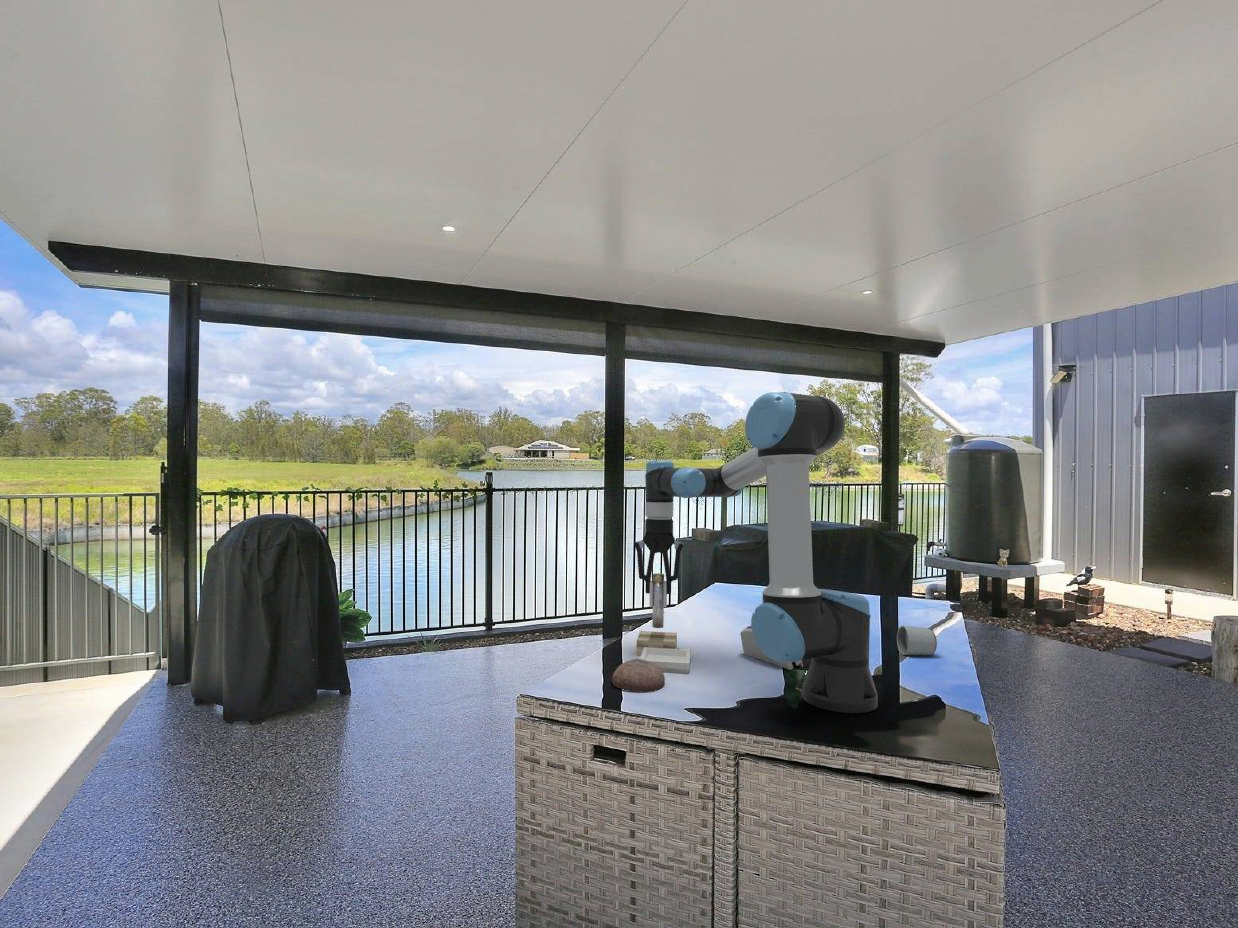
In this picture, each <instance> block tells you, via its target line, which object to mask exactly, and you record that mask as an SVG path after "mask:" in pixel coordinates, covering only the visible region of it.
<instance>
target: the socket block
mask: <svg viewBox="0 0 1238 928" xmlns="http://www.w3.org/2000/svg"><path fill="white" fill-rule="evenodd" d="M677 641H678V632H671V631H669V632H667V631H646V630H640V631H639V634H638V637H637V639H636V656H639V657H641V654H642V651H643V649H644V647H648V648H667V649H678V648H677V646H678V645H677V644H678V643H677Z"/></svg>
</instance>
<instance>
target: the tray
mask: <svg viewBox="0 0 1238 928" xmlns="http://www.w3.org/2000/svg"><path fill="white" fill-rule="evenodd" d="M639 657H640V658H639V659H643V660H647V661H649V662H650V663H652V664H653V665H655V666H657V667H658V668H659V669H660V670H661V671H662V673H669V674H670V673H673V674H686V675H687V674H690V671H691V670H690V669H691V649H684V648H683V649H682V648H676V649H667V648H648V647H644V649H643V651H642V654H641V656H639Z"/></svg>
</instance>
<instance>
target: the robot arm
mask: <svg viewBox="0 0 1238 928" xmlns="http://www.w3.org/2000/svg"><path fill="white" fill-rule="evenodd" d="M845 424H846V420H845V417H844V413H843V411H842V409H841V408H840V407H839V405H838V404H837V403H836V402H834V401H833V400H831V399H829V398H828V397H825V396H821V395H808V394H801V393H795V392H794V393H793V392H787V391H781V392H780V391H775V392H774V391H773V392H772V391H771V392H766V393H764V394H762V395H760V396H758V397H757V398H756V399H755V400H754V401H753V404H752V406H750V407H749V409H748V412H747V415H746V417H745V423H744V432H745V436H746V439H747V440H748V442H749V444H750V445H751V446H752V448H750V449H748V450H747V451H746V452H744V453H742V454H740V455H738V456H737V457H735V458H733V459H731V460H729V461H728V462H726V463H725V464H722V465H721V466H719V467H717V468H715V467H713V468H708V467H706V468H704V467H703V468H701V467H700V468H699V467H686V466H685V467H675V465H674V464H675V463H674V462H673V461H672V460H648V461H647V462H646V466H645V467H646V468H645V474H644V476H645V480H644V481H645V504H644V505H645V509H644V510H645V513H644V515H645V517H647V518H645V520H644V536H643V538H642V539H641V540H639V541H635V542H634V544H633V545H634V548H635V551H636V555H637V556H636V557H637V569H638V570H637V571H638V578H639V579H640V580H643V581H644V582H645V594H649V608H651V607H652V608H653V580H651V579H652V575H653V573H652V572H653V566H654V562H655V561H654V560H655V555H656V554H657V553H659V554H662V558H663V566H664V575H665V580H664V592H663V607H664V608H667V603H668V602H667V601H668V595H671V593H672V582H674V581H677V580H678V579H679V570H680V562H681V552H682V550H683V547H684V543H683V542H679V541H678V540H676V538H675V537H674V520H673V519H672V518H673V517H674V498H682V499H693V498H727V499H728V498H732V497H738V496H740V495H741V494H742V492H743V490H744V488H745V487H747V486H748V485H750V484H753V483H755V482H757V481H759V480H761V479H762V478H765V481H766V485H765V486H766V507H767V508H766V509H767V510H766V514H767V516H766V517H767V539H768V569H769V571H768V573H769V576H768V577H769V583H768V585H767V586H766V588H764V590H762V603H761V604H759V605H758V606H757V607H755V609H754V612H752V615H751V619H750V621H751V622H750V624H751V625H750V626H751V628H752V633H753V636H754V639H755V641H756V643H757V645H758V647H760V648H761V650H762V652H763V653H764V654H765V655H766V656H767V657H768V658H770V659H772V660H774V661H777V662H797V661H800V660H808V659H811V661H810V665H809V666H808V670H807V673H806V674H805V679H804V680H803V683H802V690H801V691H802V692H801V693H802V694H801V696H802V699H803V700H804V701H805V702H806V703H807V704H809V705H811V706H812V707H813V706H814V707H815V708H819V709H821V710H826V711H830V712H834V713H836V712H837V713H844V714H845V713H846V714H863V713H869V712H872V711H874V710H876V709H877V708H878V705H879V704H878V703H879V702H878V701H879V700H878V697H879V696H878V691H877V689H876V685H875V682H874V680H873V676H872V673H871V669H870V635H871V634H870V632H871V631H870V630H871V629H870V627H871V626H870V625H871V623H870V622H871V614H870V613H871V612H870V611H871V610H870V602H869V600H868V598H866V597H865V596H863V595H861V594H856V593H852V592H847V591H840V590H834V589H825V588H818V587H817V586H816V585H815V584H814V571H813V568H814V567H813V545H812V544H813V541H812V540H813V539H812V521H811V518H812V516H811V514H812V513H811V491H810V489H811V488H810V487H811V486H810V464H811V463H812V462H814V460H815V459H816V458H817V456H818V455H822V454H823V453H826V452H827V451H829V450H831V449H833V448H834V447H835V446H836V445H837V444H838V443H839V442H840V440H841V439H842V438H843V435H844V433H845V429H846V425H845ZM644 544H645V546H646V547H647V549H648V550H649V556H648V562H647V569H646V574H645V569H644V568H645V567H644V556H643V553H644V552H643V549H644ZM673 545H674V550H675V554H674V566H673V567H674V568H673V575H672V572H671V566H670V560H669V559H670V558H669V552H668V551H669V550H670V549H671V547H672V546H673Z"/></svg>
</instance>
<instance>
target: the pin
mask: <svg viewBox="0 0 1238 928" xmlns="http://www.w3.org/2000/svg"><path fill="white" fill-rule="evenodd" d="M652 581H653V606H652V623H651V625H652V626H651V627H652V628H654V629H663V628H664V627H665V626H664V621H665V620H664V619H665V618H664V616H665V614H664V613H665V607H663V592H664V581H665V573H652Z"/></svg>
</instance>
